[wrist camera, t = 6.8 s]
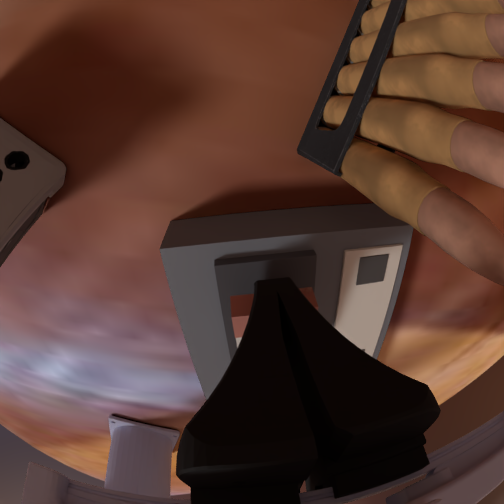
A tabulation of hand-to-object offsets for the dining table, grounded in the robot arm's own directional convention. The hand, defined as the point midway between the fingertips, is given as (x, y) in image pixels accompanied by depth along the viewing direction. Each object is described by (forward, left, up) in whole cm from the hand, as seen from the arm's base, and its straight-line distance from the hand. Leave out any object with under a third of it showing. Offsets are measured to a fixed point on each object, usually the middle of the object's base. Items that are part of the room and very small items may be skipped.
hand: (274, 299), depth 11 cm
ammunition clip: (+10, -1, -6) cm, 12 cm away
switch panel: (-8, -5, -5) cm, 11 cm away
